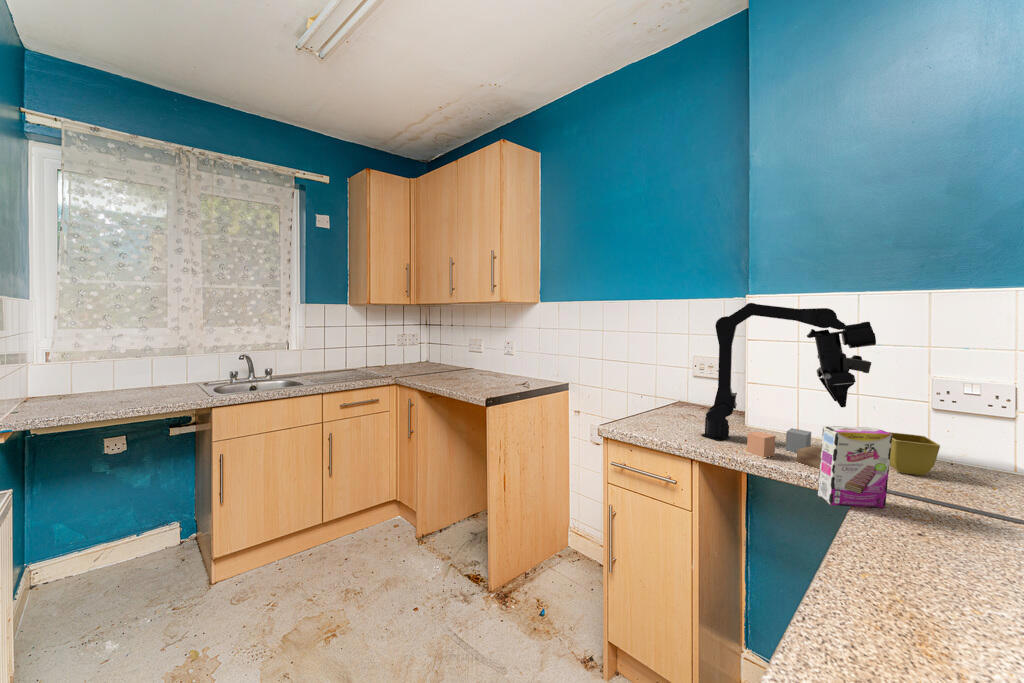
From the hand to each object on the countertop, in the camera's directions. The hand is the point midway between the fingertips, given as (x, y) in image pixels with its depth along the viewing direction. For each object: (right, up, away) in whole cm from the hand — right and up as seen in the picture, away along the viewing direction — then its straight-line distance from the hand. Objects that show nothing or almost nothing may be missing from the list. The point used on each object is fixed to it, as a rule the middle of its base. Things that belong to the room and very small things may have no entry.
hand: (840, 404), depth 121 cm
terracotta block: (-23, -15, +1) cm, 27 cm away
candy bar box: (-21, -17, -30) cm, 40 cm away
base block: (-12, -16, -7) cm, 21 cm away
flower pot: (+8, -16, -12) cm, 22 cm away
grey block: (-10, -15, +4) cm, 18 cm away
